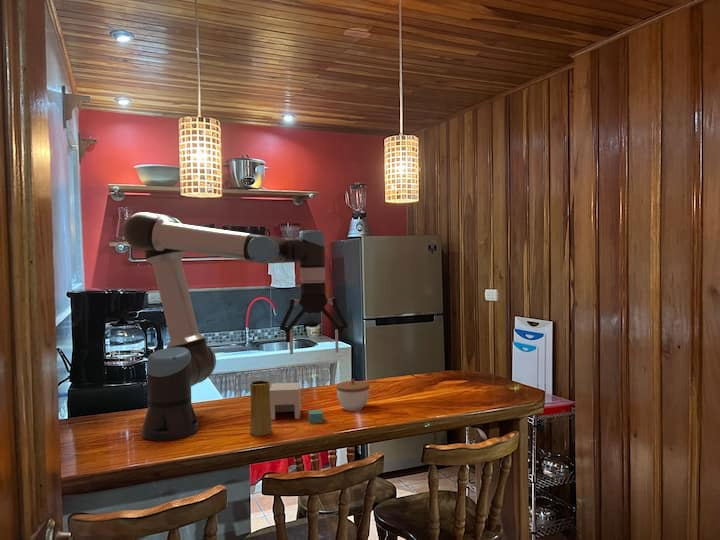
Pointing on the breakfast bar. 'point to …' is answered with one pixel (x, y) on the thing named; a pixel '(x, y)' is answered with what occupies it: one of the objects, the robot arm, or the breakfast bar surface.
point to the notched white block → (285, 398)
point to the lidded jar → (352, 394)
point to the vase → (260, 408)
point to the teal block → (315, 416)
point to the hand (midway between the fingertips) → (314, 352)
